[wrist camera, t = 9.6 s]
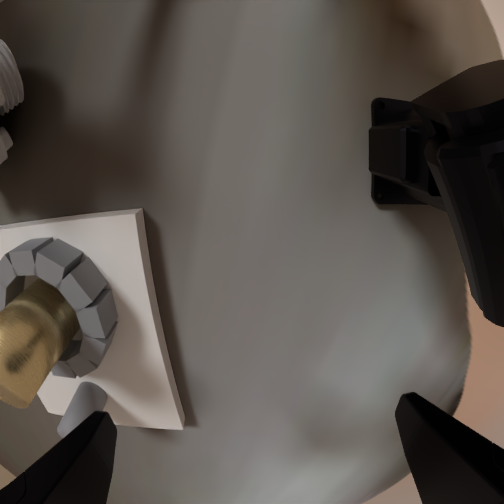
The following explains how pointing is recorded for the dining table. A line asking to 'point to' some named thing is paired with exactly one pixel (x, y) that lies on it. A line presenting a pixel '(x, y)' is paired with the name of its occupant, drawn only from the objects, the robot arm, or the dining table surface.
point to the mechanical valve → (8, 92)
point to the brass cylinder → (33, 340)
